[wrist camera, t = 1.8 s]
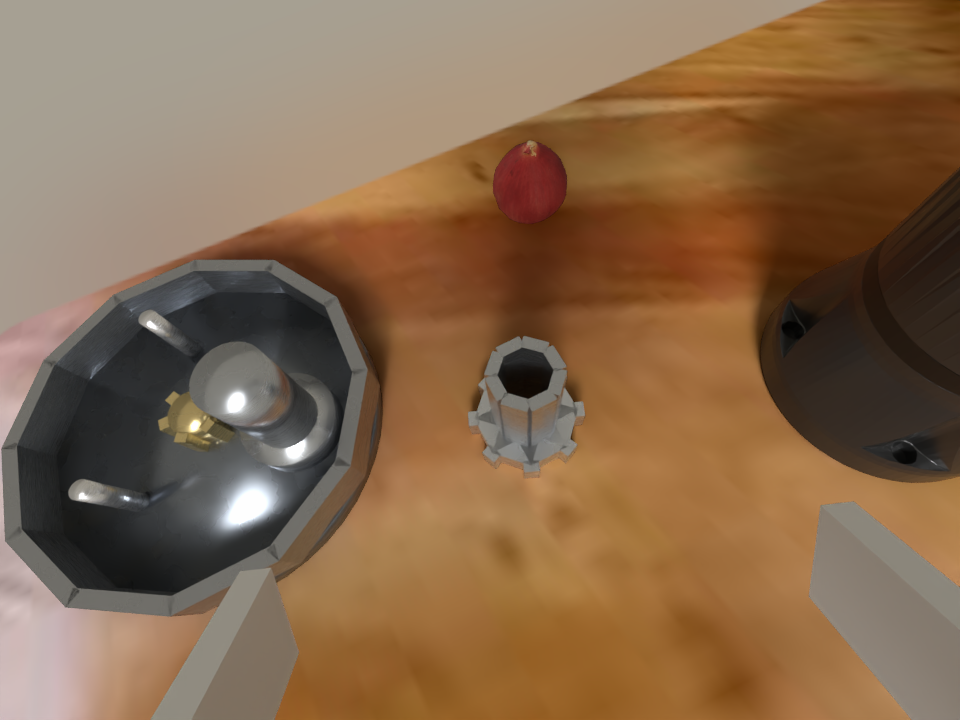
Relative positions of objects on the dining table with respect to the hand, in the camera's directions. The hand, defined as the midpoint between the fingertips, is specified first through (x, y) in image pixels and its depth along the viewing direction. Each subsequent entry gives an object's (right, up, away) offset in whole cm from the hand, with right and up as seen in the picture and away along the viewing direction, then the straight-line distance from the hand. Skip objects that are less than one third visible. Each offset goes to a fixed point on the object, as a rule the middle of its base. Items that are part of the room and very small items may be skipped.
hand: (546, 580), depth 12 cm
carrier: (-21, 0, +24) cm, 32 cm away
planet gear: (+2, +1, +22) cm, 22 cm away
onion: (+3, +18, +30) cm, 35 cm away
